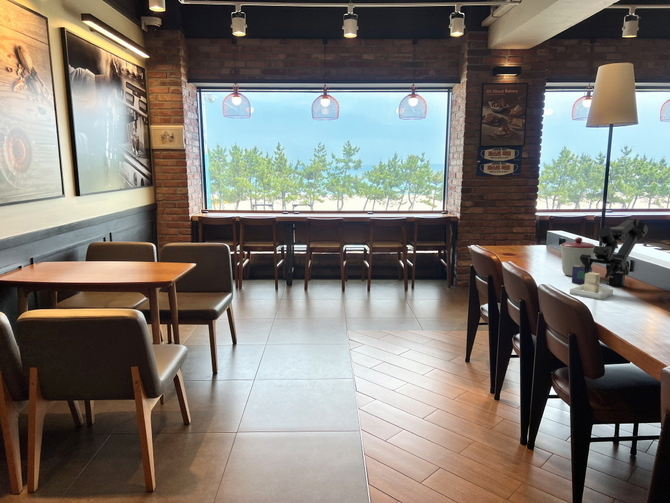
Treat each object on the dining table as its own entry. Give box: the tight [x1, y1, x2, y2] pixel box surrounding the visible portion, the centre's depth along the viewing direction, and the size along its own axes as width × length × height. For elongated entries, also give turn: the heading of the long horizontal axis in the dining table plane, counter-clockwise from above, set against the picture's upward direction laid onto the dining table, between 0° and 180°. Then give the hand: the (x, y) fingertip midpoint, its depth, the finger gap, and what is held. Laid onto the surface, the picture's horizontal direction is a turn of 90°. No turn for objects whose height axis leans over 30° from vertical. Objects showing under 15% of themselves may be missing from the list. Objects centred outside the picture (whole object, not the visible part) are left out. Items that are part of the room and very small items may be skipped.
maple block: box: [584, 272, 601, 293], centre depth 219 cm, size 5×5×9 cm
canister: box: [559, 237, 596, 277], centre depth 258 cm, size 18×18×21 cm
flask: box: [571, 264, 593, 285], centre depth 240 cm, size 9×3×11 cm, turn 78°
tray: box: [569, 284, 614, 301], centre depth 219 cm, size 13×13×2 cm
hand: (595, 276), depth 220 cm, fingers open, 9 cm apart
